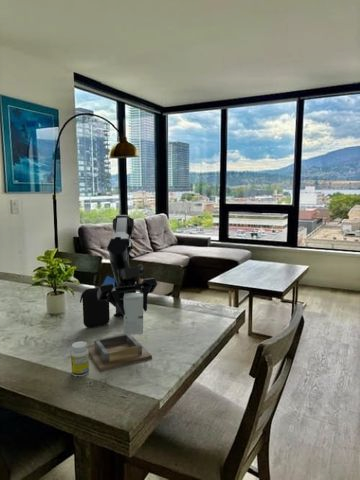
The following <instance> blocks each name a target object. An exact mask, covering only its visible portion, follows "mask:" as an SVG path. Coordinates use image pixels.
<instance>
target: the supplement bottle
mask: <svg viewBox="0 0 360 480" xmlns="http://www.w3.org/2000/svg"><path fill="white" fill-rule="evenodd" d="M87 346H88V344H87V342H86V341H81V340H80V341H76V342H73V343H72V344H71V350H72V351H71V352H70V353H71V354H70V359H71V360H70V361H71V374H72V376H74V377H77V376H79V377H85V376H86V375H88V374H89V373H90V360H89V359H90V355H89V352H88V349H87Z"/></svg>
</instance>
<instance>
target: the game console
mask: <svg viewBox="0 0 360 480" xmlns="http://www.w3.org/2000/svg"><path fill="white" fill-rule="evenodd" d="M101 280H102V281H101V282H100V284H99V285H98V288H99V287H100V285H103V284H110V283H112V284H113V286H115V281H114V275H112V274H110V273H105V274H104V277H103V278H102V279H101Z"/></svg>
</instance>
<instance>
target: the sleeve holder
mask: <svg viewBox="0 0 360 480" xmlns="http://www.w3.org/2000/svg"><path fill="white" fill-rule="evenodd" d="M87 349H88V352H89V357H90V358H91V359H92V361H93V362H94V364H95V365H96V367H97V369H98V371H99V372H104V371H107V370H111V369H115V368H119V367H123V366H124V367H125V366H128V365H130V364H131V365H132V364H135V363H139V362H143V361H147V360H152V359H153V355H152V354H151V352H149V351H148V350H147V349H146V348H145V347H144V346H143V345H142V344H141V343H140V342H139V341H138V340H137V339H136V338H135V337H134V336H133V335H132V334H129V335H124V333H123V334H117V335H113V336H107V337H102V338H97V339H94V344H93V343H92V344H89V345H88V344H87Z"/></svg>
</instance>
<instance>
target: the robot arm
mask: <svg viewBox="0 0 360 480" xmlns="http://www.w3.org/2000/svg"><path fill="white" fill-rule="evenodd" d="M112 231H114V233H113V234H111V237H110V240H108V243H107V248H106V249H107V252H108V253H109V254H108V255H109V263H110V266H111V269H112V272H113V276H114V281H115V286H113V284H112V283H110V284H103V285H100V284H99V286H100V287H99V286H98V288H99V289H98V292H97V297H98V300H99V301H102V300H106V302H109V304H110V305H112V306H113V307H115V313H114V314H113V317H119V318H123V319H124V315H125V312H124V293H137V291H139V293H143V312H147V310H148V295H149V294H151V293H153V292H154V291H155V289H156V287H157V286H158V282H157V279H156V278H154V277H149V278H148V277H147V278H143V280H142V282H141V283H137V282H138V281H139V279H138V278H140V277H141V276H143V275H145V273H146V270H145V267H144V265H143V264H142V263H140V264H137V265H135V266H132V267H131V266H130V263H129V262H130V261H129V260H130V258H129V257H130V255H129V254H130V252H131V251H132V250H133V249H134V243H133V242H132V240H131V239H132V236H133V231H135V221H134V218H132V217H130V216H129V215H127V214H117V215H115V217H114V218H113V219H112Z"/></svg>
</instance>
